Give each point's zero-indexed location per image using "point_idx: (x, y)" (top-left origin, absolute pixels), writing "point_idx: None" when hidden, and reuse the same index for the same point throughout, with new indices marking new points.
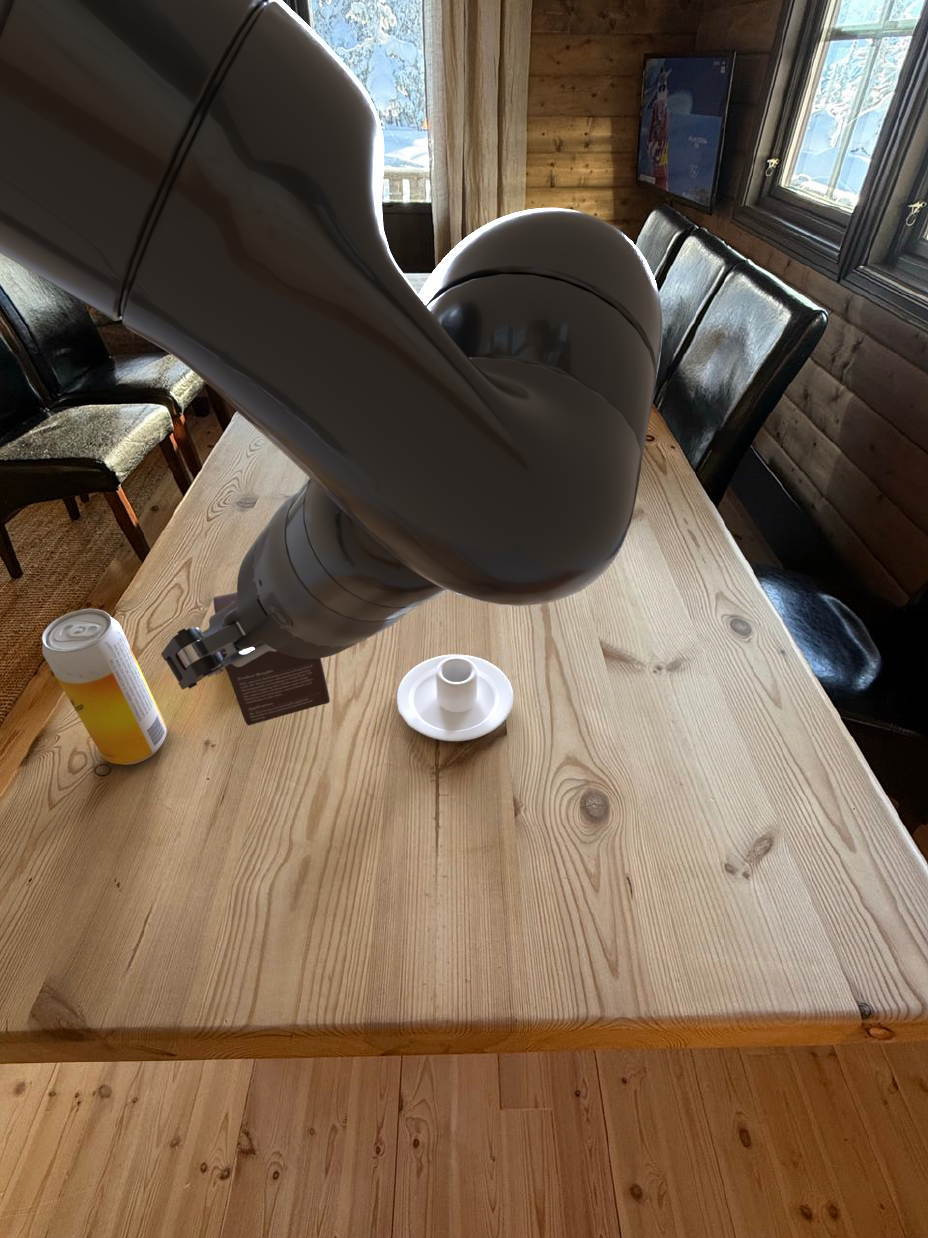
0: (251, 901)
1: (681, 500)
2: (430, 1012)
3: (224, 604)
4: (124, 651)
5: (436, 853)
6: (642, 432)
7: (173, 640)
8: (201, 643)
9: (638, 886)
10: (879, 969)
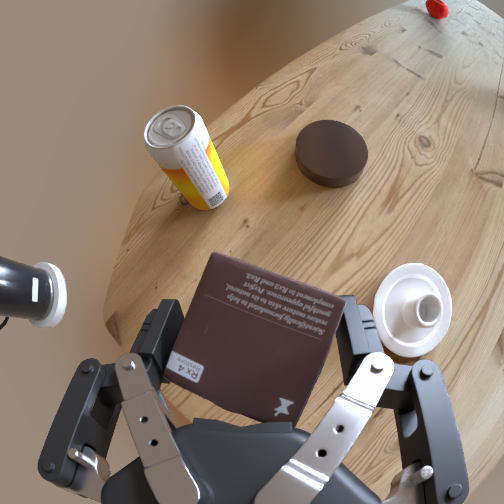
0: None
1: None
2: None
3: (215, 282)
4: (197, 154)
5: (316, 409)
6: None
7: (41, 458)
8: (69, 490)
9: (380, 480)
10: None
